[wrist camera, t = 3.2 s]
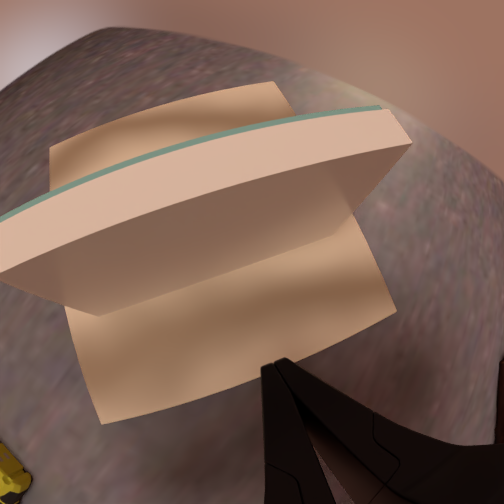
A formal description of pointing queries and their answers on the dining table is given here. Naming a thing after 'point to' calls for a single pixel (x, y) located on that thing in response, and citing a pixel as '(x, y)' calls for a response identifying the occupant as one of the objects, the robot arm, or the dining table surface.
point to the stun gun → (11, 478)
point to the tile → (197, 208)
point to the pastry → (500, 407)
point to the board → (214, 280)
